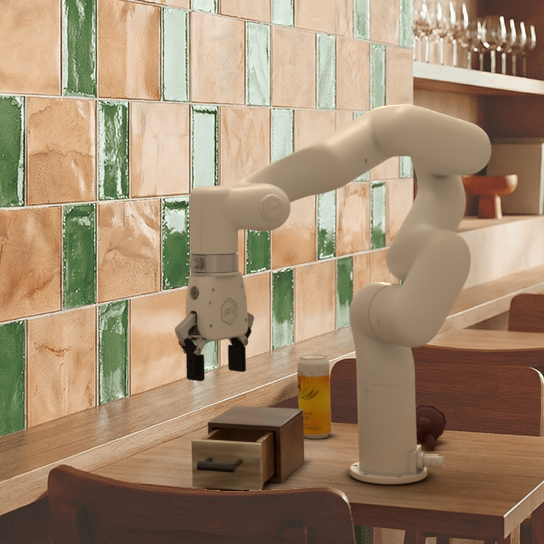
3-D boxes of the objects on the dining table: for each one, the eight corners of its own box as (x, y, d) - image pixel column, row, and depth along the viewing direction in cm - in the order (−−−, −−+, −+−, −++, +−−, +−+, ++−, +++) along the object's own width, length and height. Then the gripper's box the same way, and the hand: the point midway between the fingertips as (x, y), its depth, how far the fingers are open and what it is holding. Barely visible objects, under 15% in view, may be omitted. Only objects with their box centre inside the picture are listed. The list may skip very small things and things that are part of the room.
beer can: (294, 433, 222) (292, 355, 223) (323, 430, 224) (321, 352, 225) (306, 440, 217) (304, 359, 217) (336, 437, 218) (334, 357, 219)
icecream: (400, 398, 221) (401, 423, 206) (438, 389, 220) (441, 413, 205) (411, 433, 221) (412, 460, 207) (449, 424, 220) (452, 450, 205)
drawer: (250, 500, 176) (249, 452, 176) (181, 495, 180) (179, 447, 180) (284, 471, 192) (282, 427, 192) (219, 466, 196) (218, 423, 196)
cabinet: (281, 482, 189) (280, 426, 189) (209, 477, 193) (207, 422, 193) (304, 461, 201) (303, 409, 201) (235, 457, 206) (234, 405, 206)
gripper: (194, 270, 172) (197, 386, 171) (268, 262, 185) (270, 370, 184) (158, 268, 177) (160, 381, 176) (232, 260, 190) (234, 365, 189)
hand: (216, 375), depth 180 cm, fingers open, 9 cm apart
